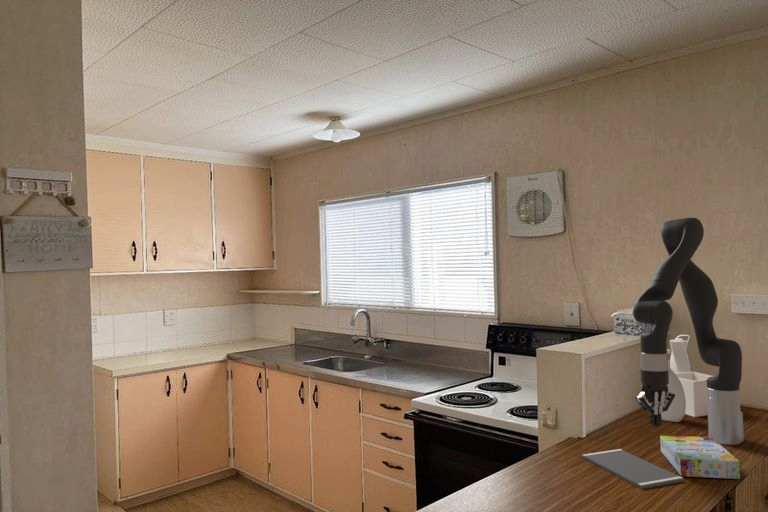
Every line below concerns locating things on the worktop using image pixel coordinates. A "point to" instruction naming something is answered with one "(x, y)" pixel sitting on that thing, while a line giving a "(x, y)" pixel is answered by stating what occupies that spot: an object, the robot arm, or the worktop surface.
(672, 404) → the soap bottle
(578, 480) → the worktop surface
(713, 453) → the snack box
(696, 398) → the utensil crock
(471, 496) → the worktop surface
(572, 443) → the worktop surface
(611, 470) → the gray tablet computer
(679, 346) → the white twisted bottle
